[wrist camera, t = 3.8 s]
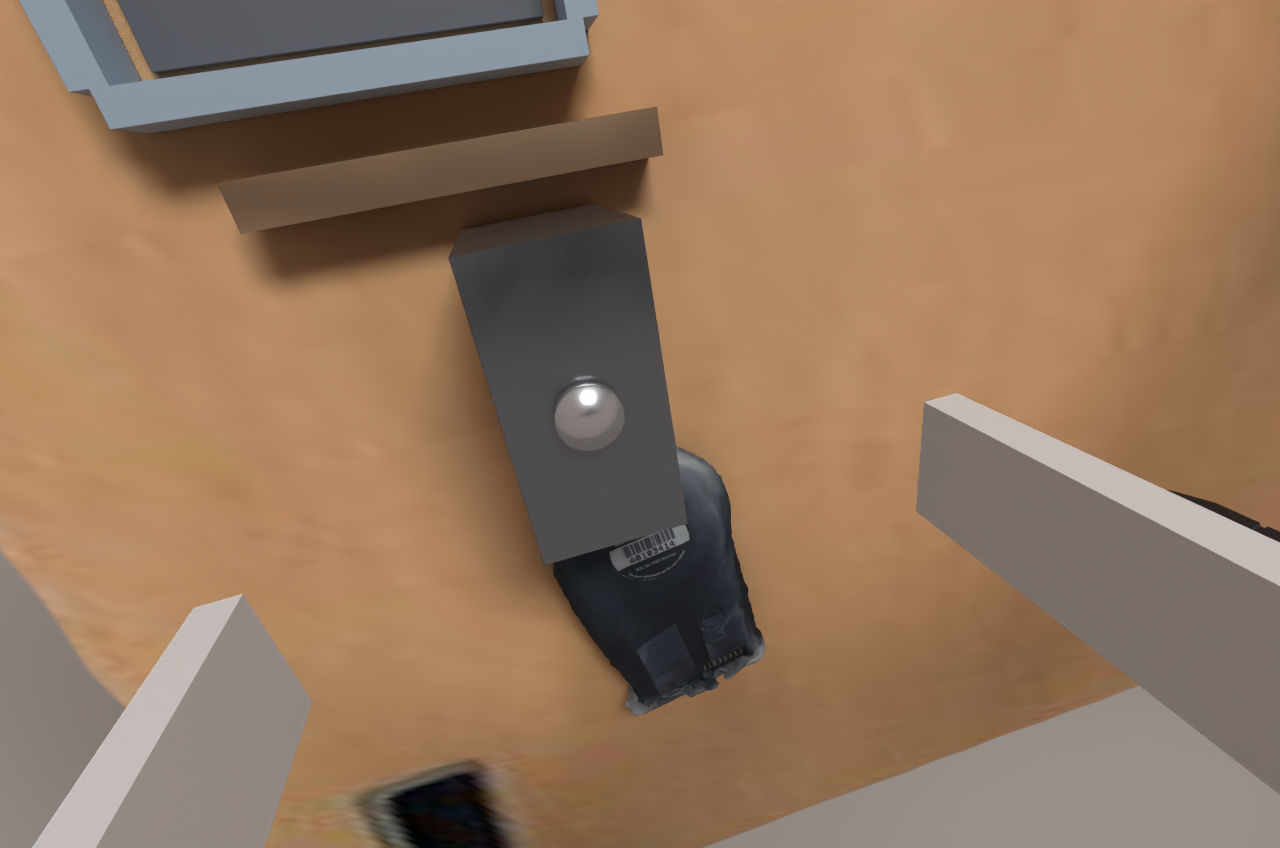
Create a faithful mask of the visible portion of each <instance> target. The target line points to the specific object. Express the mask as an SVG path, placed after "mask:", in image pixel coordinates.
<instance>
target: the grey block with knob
mask: <svg viewBox="0 0 1280 848" xmlns="http://www.w3.org/2000/svg"><path fill="white" fill-rule="evenodd" d="M449 261H450V264H451V267H452V270H453V274H454V277H455V280H456V283H457V287H458V290H459V293H460V296H461V299H462V303H463V306H464V309H465V312H466V315H467V319H468V322H469V325H470V328H471V332H472V335H473V338H474V341H475V344H476V348H477V351H478V354H479V357H480V360H481V364H482V367H483V370H484V373H485V377H486V380H487V383H488V386H489V389H490V393H491V396H492V399H493V402H494V405H495V409H496V412H497V415H498V418H499V421H500V425H501V428H502V431H503V434H504V438H505V441H506V444H507V447H508V450H509V454H510V457H511V460H512V463H513V466H514V470H515V473H516V476H517V479H518V483H519V486H520V489H521V492H522V495H523V499H524V502H525V505H526V508H527V511H528V515H529V518H530V521H531V524H532V527H533V531H534V534H535V537H536V540H537V544H538V547H539V550H540V553H541V556H542V560H543V563H544V565H547V564H551V563H554V562H558V561H561V560H565V559H568V558H571V557H575V556H578V555H582V554H585V553H589V552H592V551H595V550H599V549H602V548H606V547H609V546H613V545H616V544H620V543H623V542H626V541H630V540H633V539H637V538H640V537H644V536H647V535H650V534H654V533H657V532H661V531H664V530H668V529H671V528H675V527H678V526H681V525H685V524H688V523H687V517H686V510H685V504H684V497H683V490H682V484H681V477H680V471H679V464H678V458H677V451H676V445H675V438H674V432H673V425H672V418H671V412H670V405H669V399H668V392H667V386H666V379H665V373H664V366H663V360H662V353H661V346H660V340H659V333H658V327H657V320H656V314H655V307H654V301H653V294H652V288H651V281H650V274H649V268H648V261H647V255H646V248H645V242H644V235H643V229H642V222H641V218H638V217H635V216H631V215H628V214H625V213H622V212H619V211H615V210H612V209H609V208H606V207H603V206H599V205H596V204H593V203H590V204H585V205H580V206H575V207H570V208H565V209H560V210H555V211H550V212H544V213H539V214H534V215H529V216H524V217H519V218H514V219H509V220H504V221H499V222H493V223H488V224H483V225H478V226H473V227H468V228H463V229H462V231H461V233H460V235H459V237H458V239H457V241H456V243H455V245H454V247H453V249H452V251H451V253H450V256H449Z"/></svg>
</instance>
